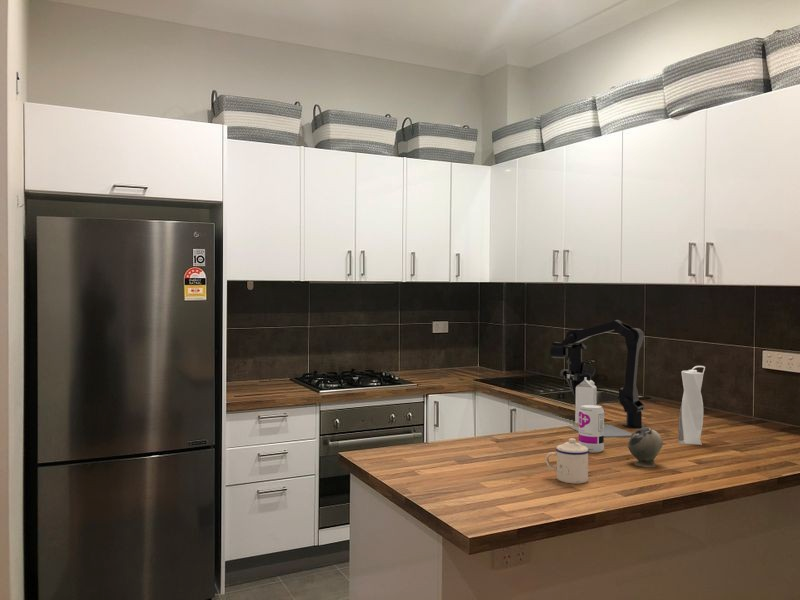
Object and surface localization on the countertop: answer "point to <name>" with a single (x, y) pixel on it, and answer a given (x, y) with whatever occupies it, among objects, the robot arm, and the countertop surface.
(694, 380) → the white tall faceted vessel
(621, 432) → the mat
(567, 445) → the teacup with lid
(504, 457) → the countertop surface
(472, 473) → the countertop surface
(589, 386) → the milk carton
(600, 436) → the supplement can
